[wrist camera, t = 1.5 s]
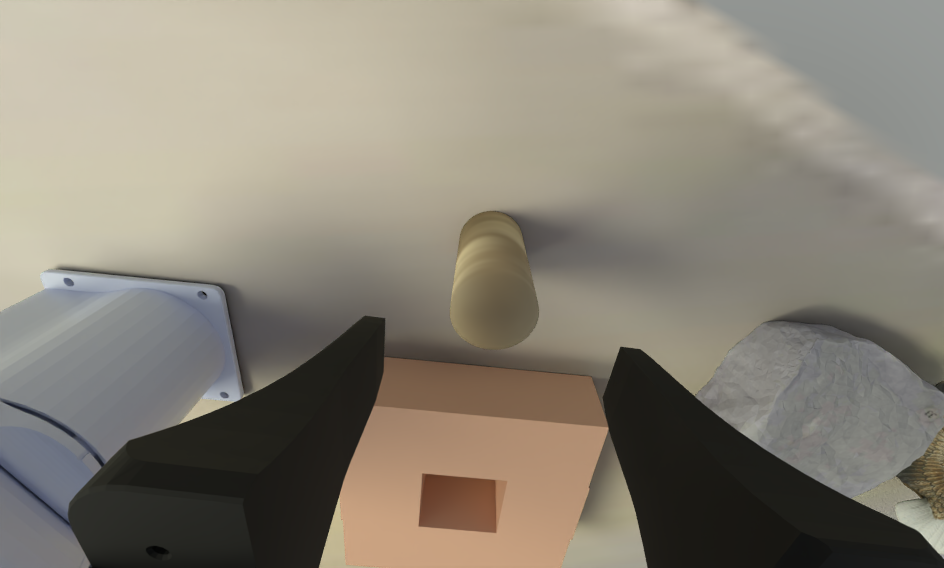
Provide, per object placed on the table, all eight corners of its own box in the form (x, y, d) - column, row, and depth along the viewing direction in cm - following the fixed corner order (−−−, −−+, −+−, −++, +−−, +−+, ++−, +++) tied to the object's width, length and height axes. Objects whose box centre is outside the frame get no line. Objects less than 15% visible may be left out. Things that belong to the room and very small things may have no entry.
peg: (456, 266, 22) (446, 345, 16) (462, 207, 21) (453, 269, 14) (517, 272, 22) (530, 353, 16) (527, 214, 21) (546, 278, 14)
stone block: (746, 287, 24) (662, 427, 27) (819, 319, 20) (709, 483, 22) (894, 350, 27) (805, 473, 29) (990, 391, 22) (874, 533, 25)
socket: (360, 507, 31) (344, 564, 28) (354, 353, 25) (333, 402, 21) (548, 524, 32) (557, 582, 28) (592, 376, 25) (611, 427, 22)
